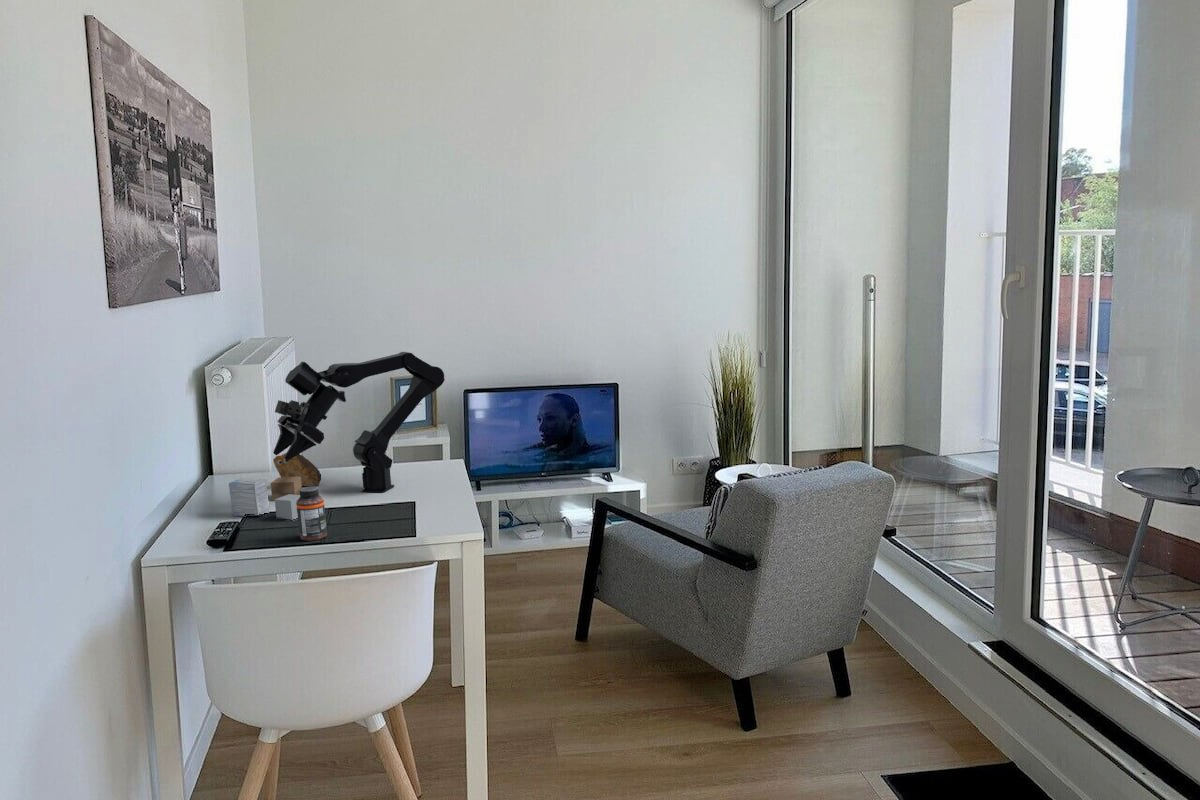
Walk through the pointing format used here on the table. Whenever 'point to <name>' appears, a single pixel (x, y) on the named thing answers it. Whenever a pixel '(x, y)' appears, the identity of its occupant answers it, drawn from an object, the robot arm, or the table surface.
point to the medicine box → (249, 496)
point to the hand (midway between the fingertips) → (280, 456)
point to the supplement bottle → (311, 514)
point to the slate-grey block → (287, 506)
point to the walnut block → (285, 486)
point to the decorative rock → (298, 469)
